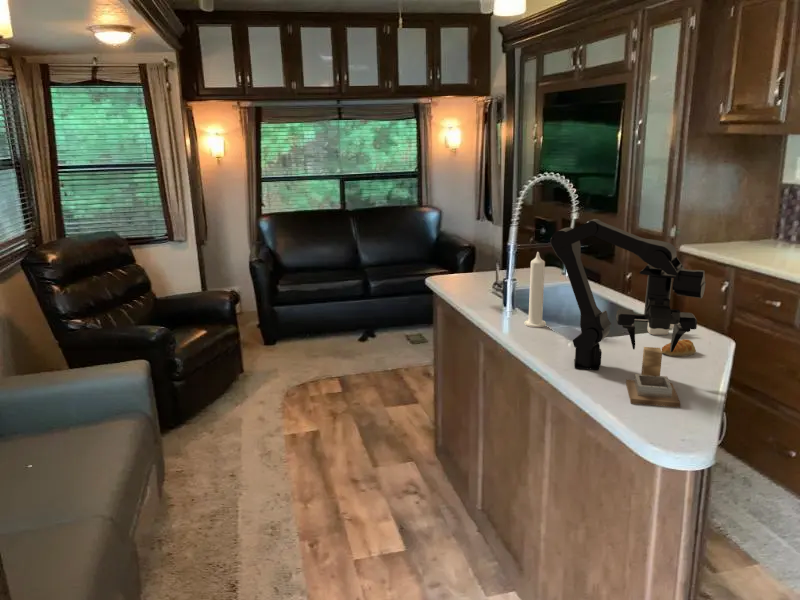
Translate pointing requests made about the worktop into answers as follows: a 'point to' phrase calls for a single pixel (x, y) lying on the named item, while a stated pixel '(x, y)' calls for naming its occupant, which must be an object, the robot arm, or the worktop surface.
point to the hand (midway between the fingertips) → (652, 350)
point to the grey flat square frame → (653, 386)
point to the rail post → (651, 361)
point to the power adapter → (659, 330)
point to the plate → (648, 400)
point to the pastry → (680, 348)
